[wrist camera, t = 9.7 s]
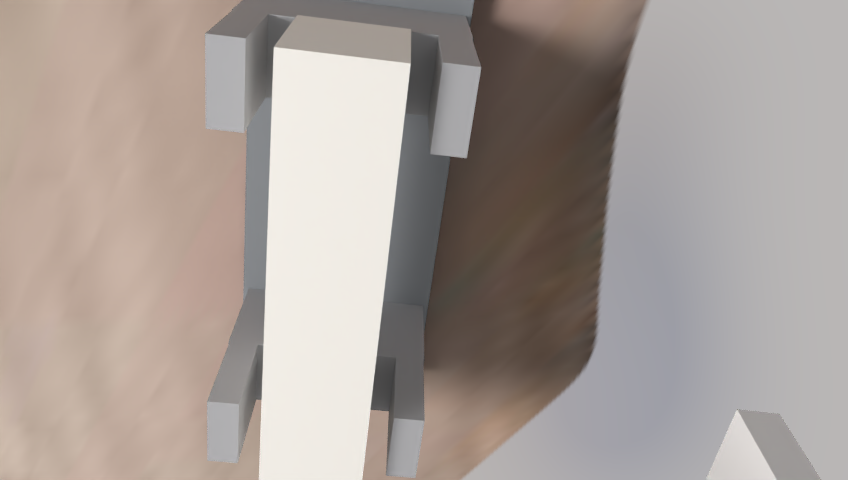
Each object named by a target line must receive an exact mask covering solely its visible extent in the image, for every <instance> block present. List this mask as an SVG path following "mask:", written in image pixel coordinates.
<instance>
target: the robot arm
mask: <svg viewBox="0 0 848 480" xmlns="http://www.w3.org/2000/svg"><path fill="white" fill-rule="evenodd" d="M706 480H821V479H820V477H819V476H818V474H817V472H816V471H815V469H814V468H813V466H812V465H811V463H810V461H809V460H808V458H807V457H806V455H805V454H804V452H803V450H802V449H801V447H800V446H799V444H798V443H797V441H796V439H795V438H794V436H793V434H792V433H791V431H790V430H789V428H788V427H787V425H786V423H785V422H784V420H783V419H782V417H781V416H780V414H775V413H767V412H757V411H747V410H738V409H737V411H736V413H735V415H734V417H733V420H732V422H731V424H730V426H729V429H728V431H727V433H726V436H725V438H724V440H723V442H722V445H721V447H720V449H719V451H718V454H717V456H716V458H715V460H714V463H713V465H712V467H711V469H710V472H709V474H708V476H707V478H706Z"/></svg>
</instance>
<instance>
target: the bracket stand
mask: <svg viewBox="0 0 848 480" xmlns="http://www.w3.org/2000/svg"><path fill="white" fill-rule="evenodd" d="M473 4H474V0H243V1H241V2H240V3H239V4H238V5H237V6H235V7H234V8H233V9H232V11H231V12H230V13H229V14H228V15H226V16H225V17H224V18H223V19H222V20H221V21H219V22H218V23H217V24H216V25H215V26H213V27H212V28H211V29H210V30H209V31H208V32H206V33H205V71H206V129H214V130H223V131H232V132H241V133H244V132H245V130H246V129H247V151H246V200H245V249H244V298H243V305H242V308H241V310H240V313H239V316H238V318H237V321H236V324H235V326H234V329H233V332H232V334H231V337H230V339H229V345H228V348H227V351H226V353H225V356H224V358H223V361H222V364H221V366H220V369H219V372H218V374H217V377H216V380H215V382H214V385H213V388H212V390H211V393H210V396H209V398H208V401H207V448H208V461H220V462H232V463H238V460H239V457H240V453H241V450H242V447H243V443H244V440H245V436H246V433H247V429H248V426H249V422H250V419H251V415H252V412H253V408H254V405H255V402H256V399H259V400H262V375H263V346H264V317H265V288H266V258H267V229H268V200H269V171H270V141H271V112H272V83H273V54H274V46H275V45H276V43H277V42H278V41H279V39H280V38H281V36H282V35H283V34H284V32H285V31H286V30H287V28H288V27H289V26H290V24H291V23H292V21H293V20H294V19H295V17H296V16H297V15H302V16H310V17H318V18H326V19H334V20H342V21H350V22H358V23H366V24H374V25H382V26H391V27H399V28H407V29H411V66H410V75H409V83H408V92H407V100H406V109H405V117H404V126H403V134H402V143H401V152H400V160H399V169H398V177H397V186H396V194H395V203H394V211H393V220H392V229H391V237H390V246H389V254H388V263H387V271H386V280H385V288H384V297H383V306H382V314H381V323H380V331H379V340H378V348H377V357H376V365H375V374H374V383H373V391H372V400H371V408H370V410H381V411H389V420H388V444H387V467H386V476H398V477H410V478H415V477H416V471H417V465H418V458H419V452H420V446H421V440H422V433H423V427H424V421H425V420H424V373H423V366H424V330H425V324H426V317H427V310H428V304H429V297H430V290H431V284H432V277H433V270H434V264H435V257H436V251H437V244H438V237H439V231H440V224H441V217H442V211H443V204H444V197H445V191H446V184H447V177H448V171H449V164H450V157H460V158H467V153H468V147H469V141H470V135H471V129H472V122H473V116H474V110H475V104H476V97H477V91H478V85H479V79H480V73H481V65H480V62H479V59H478V56H477V52H476V49H475V46H474V43H473V40H474V39H473V36H472V33H471V30H470V24H471V18H472V11H473Z"/></svg>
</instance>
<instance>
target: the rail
mask: <svg viewBox="0 0 848 480" xmlns="http://www.w3.org/2000/svg"><path fill="white" fill-rule="evenodd" d="M410 66H411V29H407V28H399V27H391V26H382V25H374V24H366V23H358V22H350V21H342V20H334V19H326V18H318V17H310V16H302V15H297V16H296V17H295V19H294V20H293V21H292V23H291V24H290V26H289V27H288V28H287V30H286V31H285V32H284V34H283V35H282V36H281V38H280V39H279V41H278V42H277V43H276V45H275V46H274V54H273V83H272V112H271V141H270V171H269V200H268V229H267V258H266V288H265V317H264V346H263V375H262V404H261V434H260V463H259V480H362V477H363V468H364V460H365V451H366V443H367V434H368V425H369V417H370V408H371V400H372V391H373V383H374V374H375V365H376V357H377V348H378V340H379V331H380V323H381V314H382V306H383V297H384V288H385V280H386V271H387V263H388V254H389V246H390V237H391V229H392V220H393V211H394V203H395V194H396V186H397V177H398V169H399V160H400V152H401V143H402V134H403V126H404V117H405V109H406V100H407V92H408V83H409V75H410Z"/></svg>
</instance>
